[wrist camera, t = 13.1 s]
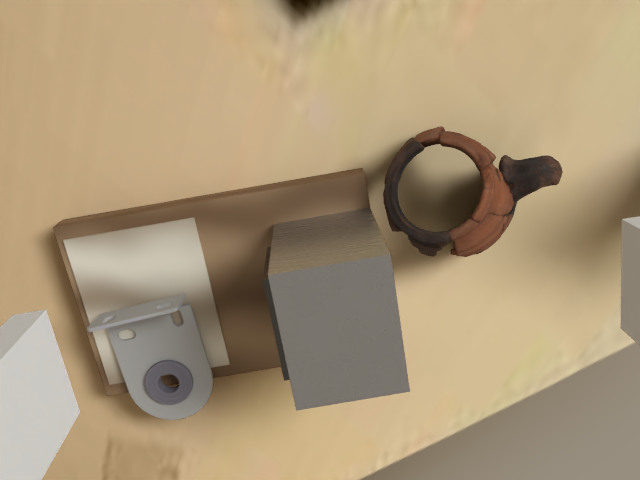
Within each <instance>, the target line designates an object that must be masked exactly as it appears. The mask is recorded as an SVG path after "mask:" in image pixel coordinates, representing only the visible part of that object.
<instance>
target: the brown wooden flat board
mask: <svg viewBox="0 0 640 480" xmlns="http://www.w3.org/2000/svg"><path fill="white" fill-rule="evenodd" d="M369 207H370V204H369V198H368V191H367V184H366V177H365V173H364V171H363V169H362V168H359V169H353V170H347V171H342V172H336V173H330V174H324V175H319V176H313V177H307V178H301V179H296V180H290V181H284V182H278V183H273V184H267V185H261V186H255V187H249V188H244V189H238V190H232V191H226V192H221V193H215V194H209V195H203V196H198V197H192V198H186V199H180V200H175V201H169V202H163V203H157V204H152V205H146V206H140V207H134V208H128V209H123V210H117V211H111V212H105V213H100V214H94V215H88V216H82V217H77V218H71V219H65V220H62V221H61V222H60V223H58V224H57V225H56V226H54V227H53V230H54V233H55V236H56V239H57V243H58V246H59V249H60V252H61V255H62V258H63V261H64V264H65V267H66V270H67V273H68V276H69V279H70V283H71V286H72V289H73V292H74V295H75V298H76V301H77V304H78V307H79V310H80V313H81V316H82V319H83V323H84V326H85V329H86V332H87V335H88V338H89V341H90V344H91V347H92V350H93V353H94V356H95V360H96V363H97V366H98V369H99V372H100V375H101V378H102V381H103V384H104V387H105V390H106V393H107V396H109V395H115V394H121V393H127V392H129V391H128V388H127V385H126V382H125V379H124V377H123V374H122V371H121V368H120V365H119V363H118V360H117V357H116V354H115V351H114V348H113V346H112V343H111V340H110V337H109V334H108V332H107V329H106V328H105V329H101V330H96V331H92V332H88V330H87V327H88V326H89V325H90V324H91V323H92V322H93V321H94V320H95V319H96V318H97V317H98V316H99V315H100V314H102V313H106V312H110V311H114V310H119V309H123V308H127V307H131V306H135V305H139V304H143V303H148V302H152V301H156V300H160V299H164V298H168V297H172V296H177V295H181V294H185V293H186V298H185V300H184V301H183V303H182V306H183V305H187V304H191V307H192V310H193V313H194V317H195V320H196V323H197V326H198V329H199V332H200V336H201V339H202V342H203V345H204V348H205V351H206V355H207V358H208V361H209V364H210V367H211V371H212V375H213V378H216V377H222V376H227V375H233V374H239V373H245V372H251V371H257V370H263V369H269V368H275V367H281V363H280V358H279V354H278V349H277V344H276V340H275V335H274V330H273V326H272V321H271V316H270V312H269V307H268V302H267V298H266V293H265V288H264V284H263V274H264V267H265V260H266V252H267V247H271V245H272V236H273V228H274V224H277V223H282V222H288V221H294V220H300V219H306V218H311V217H317V216H323V215H329V214H335V213H340V212H346V211H352V210H358V209H364V208H369ZM171 316H172V319H173V322H174V323H175V324H176V325H178V326H180V325H182V324H183V322H184V321H183V318H182V315H181V312H180V311H179V310H177V311H175V312H171ZM110 321H112V319H111V320H109V321H107V322H110ZM107 322H106V323H107ZM135 336H136V333H135V331H134V330H132V329H127V330H123V331H120V332H119V337H120V338H121V339H123V340H126V339H130V338H134V337H135ZM161 381H162V382H163V384H164V385H166V386H168V385H174V384H179V380H178V379H177V377H176V376H174V375H172V374H164V375H162V376H161Z"/></svg>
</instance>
